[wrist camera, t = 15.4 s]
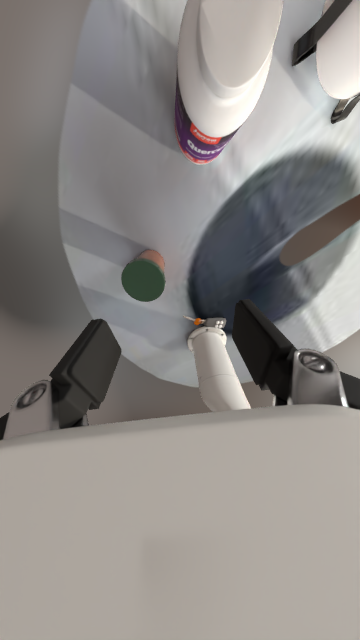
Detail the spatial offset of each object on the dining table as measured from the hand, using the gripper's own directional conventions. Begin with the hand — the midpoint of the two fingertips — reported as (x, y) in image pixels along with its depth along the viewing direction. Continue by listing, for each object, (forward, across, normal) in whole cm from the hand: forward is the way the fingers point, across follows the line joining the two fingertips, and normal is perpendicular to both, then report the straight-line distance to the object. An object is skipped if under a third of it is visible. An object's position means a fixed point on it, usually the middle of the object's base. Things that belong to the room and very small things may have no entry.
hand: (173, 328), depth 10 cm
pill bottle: (+26, -7, -16) cm, 32 cm away
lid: (+15, +5, +2) cm, 16 cm away
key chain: (+27, -6, +20) cm, 34 cm away
